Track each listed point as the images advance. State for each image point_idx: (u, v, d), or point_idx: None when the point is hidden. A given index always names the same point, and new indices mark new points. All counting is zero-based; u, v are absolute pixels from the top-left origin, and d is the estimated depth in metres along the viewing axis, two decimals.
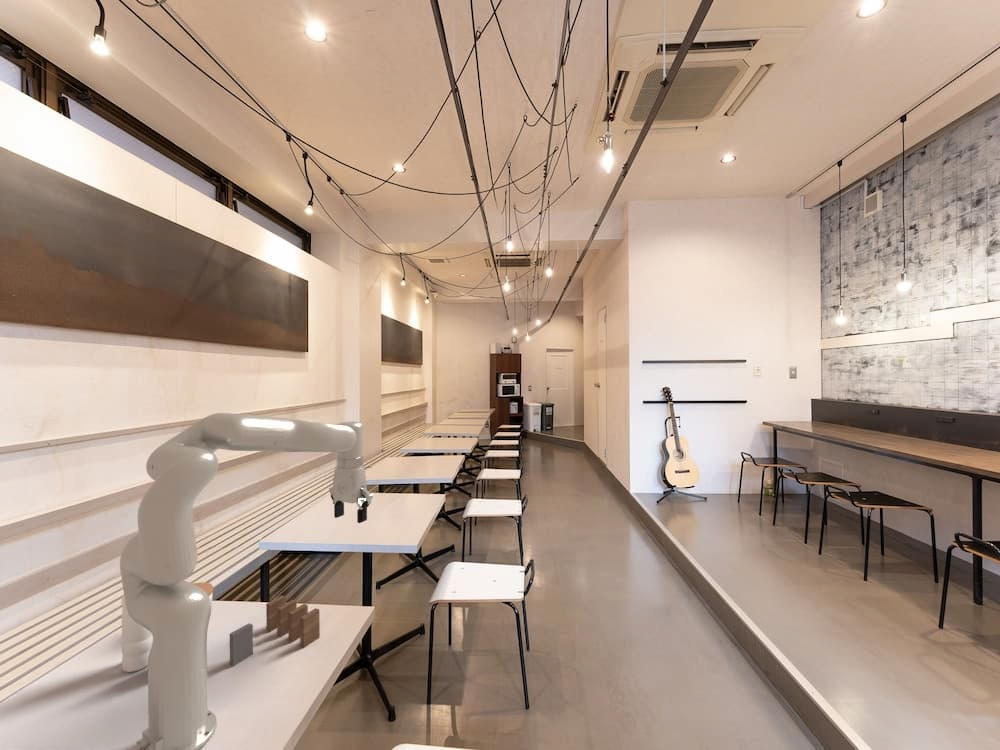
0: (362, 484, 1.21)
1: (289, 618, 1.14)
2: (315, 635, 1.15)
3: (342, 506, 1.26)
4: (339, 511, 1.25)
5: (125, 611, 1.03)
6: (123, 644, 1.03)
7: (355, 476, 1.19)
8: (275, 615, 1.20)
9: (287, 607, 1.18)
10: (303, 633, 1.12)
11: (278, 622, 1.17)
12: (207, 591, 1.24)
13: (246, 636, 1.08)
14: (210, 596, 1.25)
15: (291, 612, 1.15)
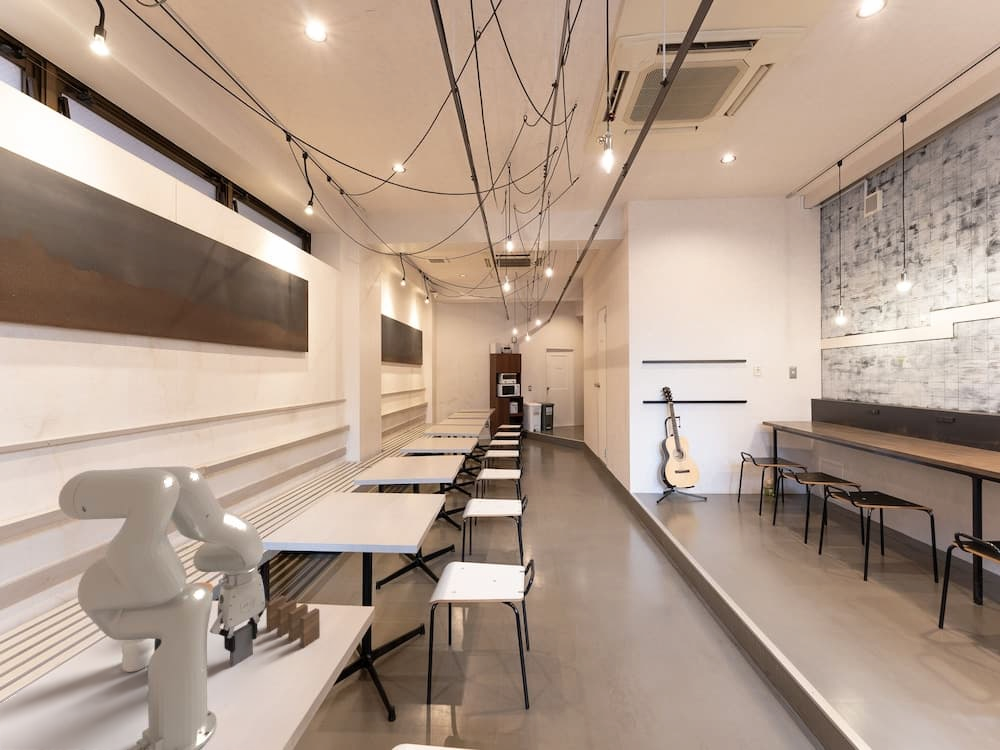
0: None
1: (289, 618, 1.14)
2: (315, 635, 1.15)
3: None
4: None
5: None
6: (123, 644, 1.03)
7: None
8: (275, 615, 1.20)
9: (287, 607, 1.18)
10: (303, 633, 1.12)
11: (278, 622, 1.17)
12: None
13: (246, 636, 1.08)
14: None
15: (291, 612, 1.15)
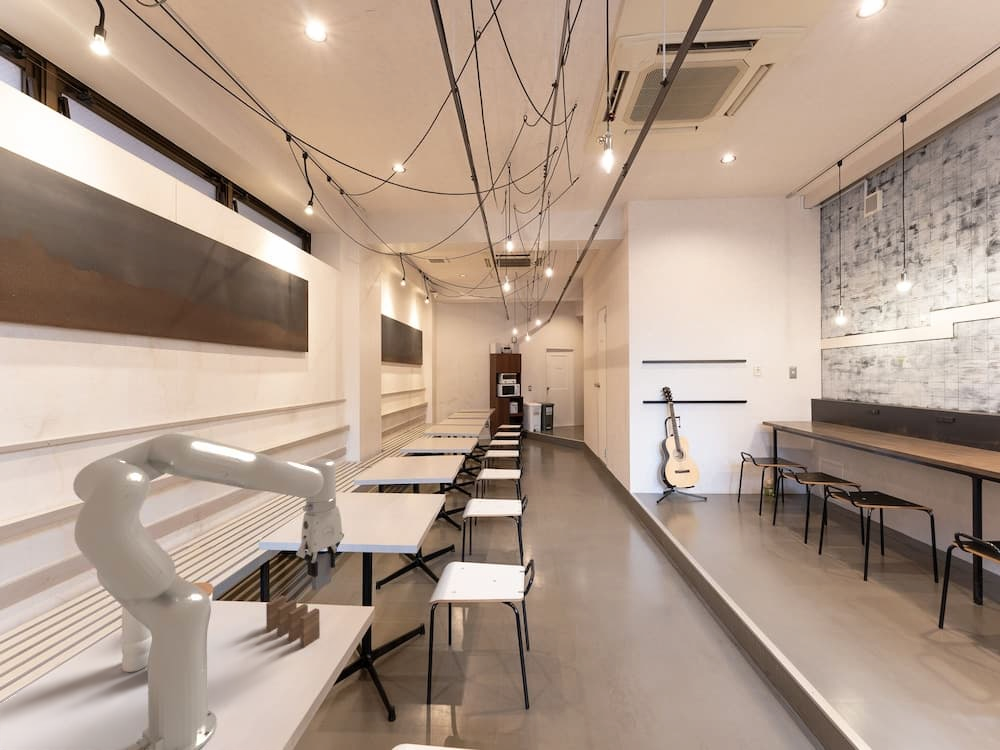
0: None
1: (289, 618, 1.14)
2: (315, 635, 1.15)
3: None
4: None
5: (125, 611, 1.03)
6: (123, 644, 1.03)
7: (339, 512, 1.15)
8: (275, 615, 1.20)
9: (287, 607, 1.18)
10: (303, 633, 1.12)
11: (278, 622, 1.17)
12: (207, 591, 1.24)
13: (326, 563, 1.12)
14: (210, 596, 1.25)
15: (291, 612, 1.15)
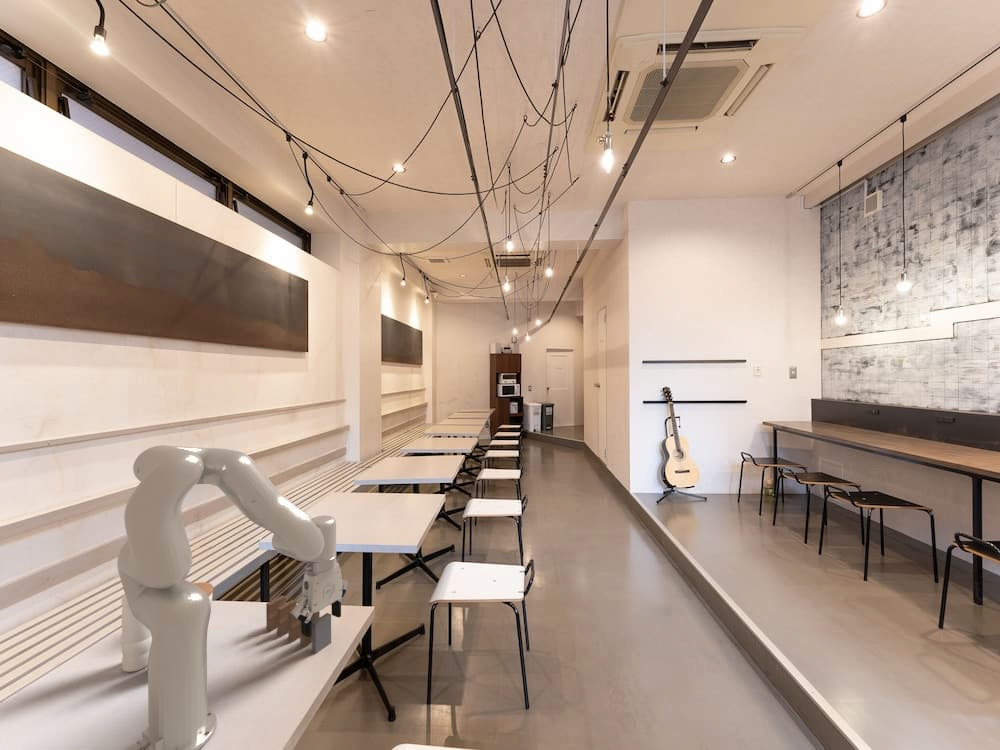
0: None
1: (289, 618, 1.14)
2: None
3: None
4: None
5: (125, 611, 1.03)
6: (123, 644, 1.03)
7: None
8: (275, 615, 1.20)
9: (287, 607, 1.18)
10: None
11: (278, 622, 1.17)
12: (207, 591, 1.24)
13: (326, 625, 1.12)
14: (210, 596, 1.25)
15: (291, 612, 1.15)
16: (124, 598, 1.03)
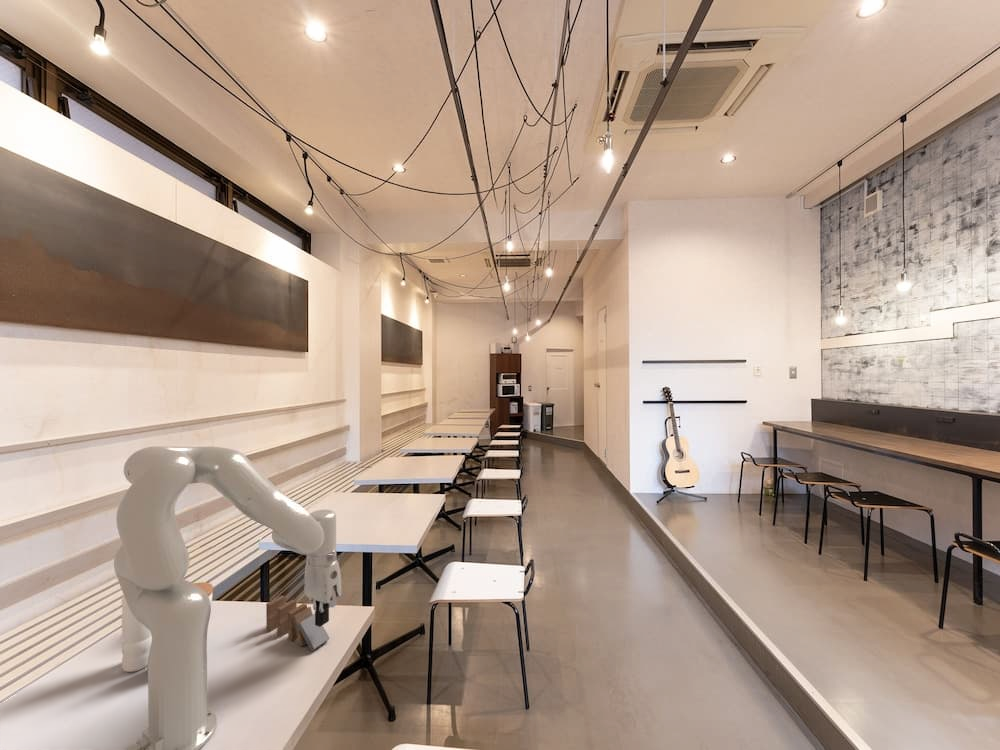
0: None
1: (288, 618, 1.15)
2: None
3: None
4: None
5: (125, 611, 1.03)
6: (123, 644, 1.03)
7: None
8: (275, 615, 1.20)
9: (287, 607, 1.18)
10: (298, 630, 1.13)
11: (278, 622, 1.17)
12: (207, 591, 1.24)
13: (314, 622, 1.14)
14: (210, 596, 1.25)
15: (290, 611, 1.15)
16: (124, 598, 1.03)
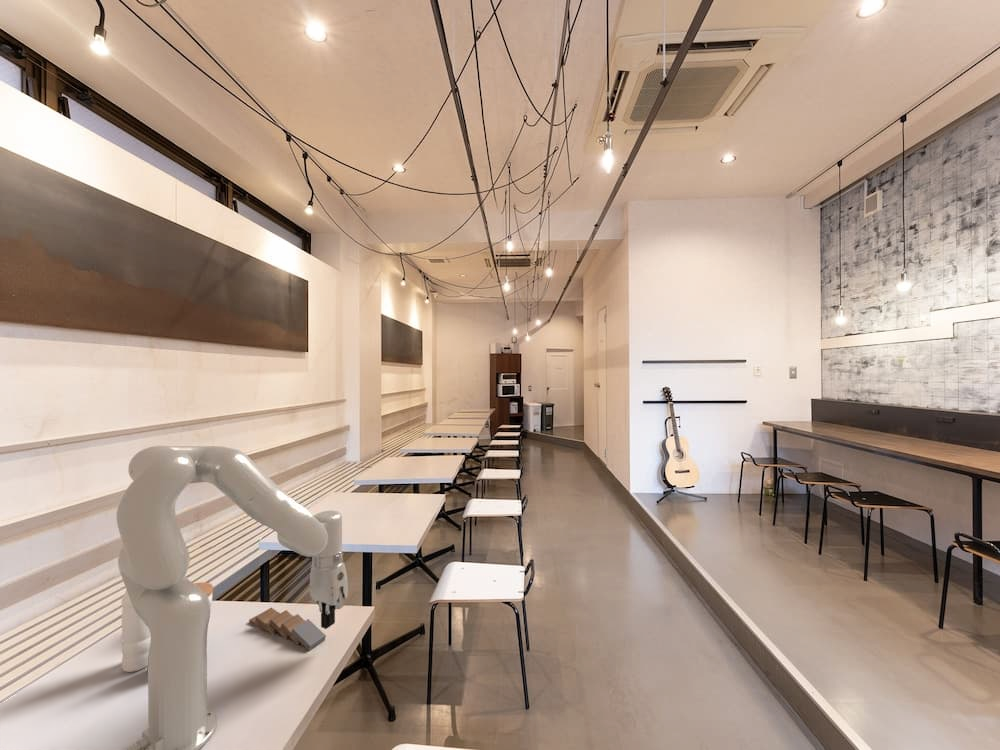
0: None
1: (273, 625, 1.18)
2: None
3: None
4: None
5: (125, 611, 1.03)
6: (123, 644, 1.03)
7: None
8: None
9: (263, 613, 1.22)
10: (290, 632, 1.14)
11: (264, 626, 1.19)
12: (207, 591, 1.24)
13: (307, 626, 1.16)
14: (210, 596, 1.25)
15: None
16: (124, 598, 1.03)
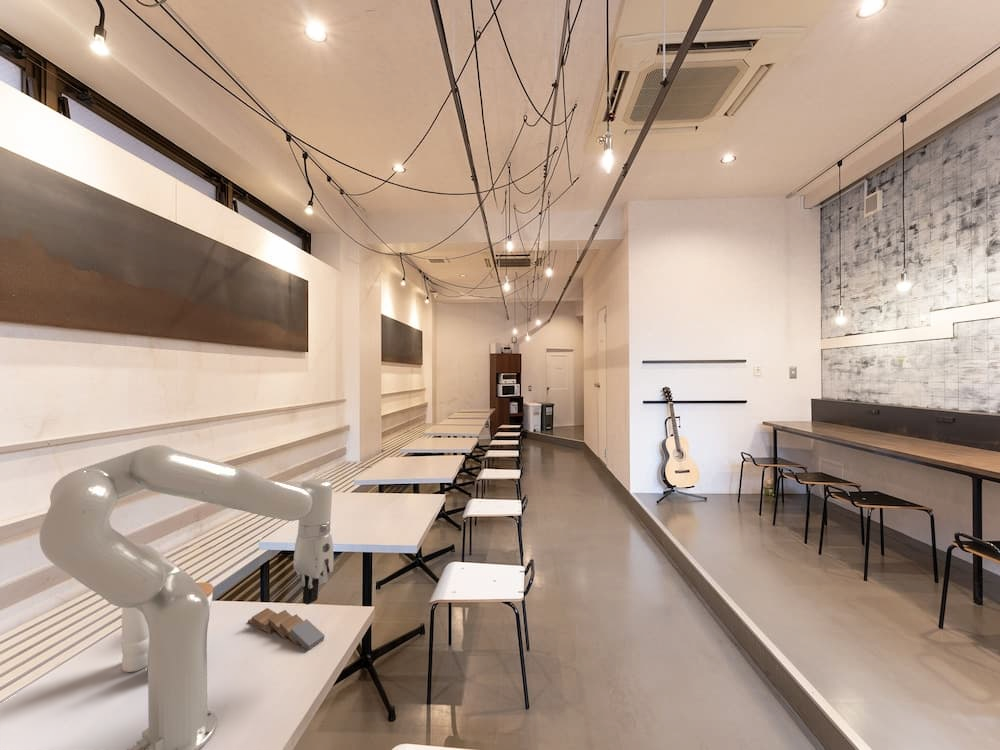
0: None
1: (271, 624, 1.18)
2: None
3: None
4: None
5: (125, 611, 1.03)
6: (123, 644, 1.03)
7: None
8: None
9: (259, 613, 1.22)
10: (288, 632, 1.15)
11: (260, 626, 1.19)
12: (207, 591, 1.24)
13: (306, 626, 1.16)
14: (210, 596, 1.25)
15: None
16: None
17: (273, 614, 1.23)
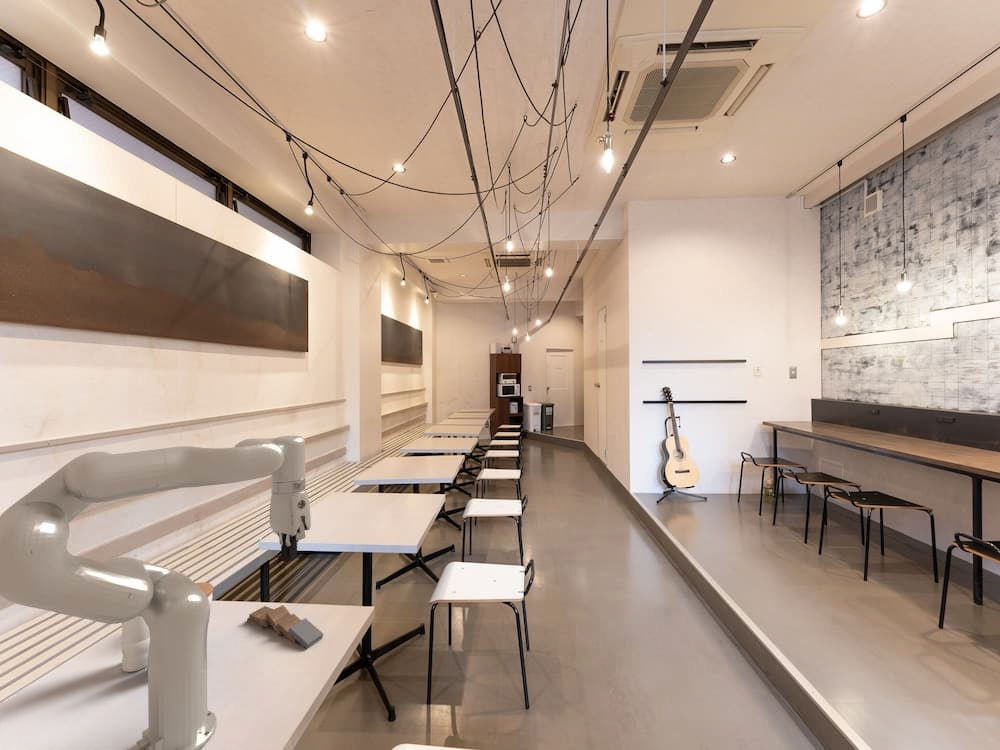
0: None
1: (268, 619, 1.20)
2: None
3: None
4: None
5: None
6: (123, 644, 1.03)
7: None
8: None
9: (256, 611, 1.25)
10: (286, 631, 1.15)
11: (257, 621, 1.21)
12: (207, 591, 1.24)
13: (305, 625, 1.16)
14: (210, 596, 1.25)
15: None
16: None
17: (270, 610, 1.25)
